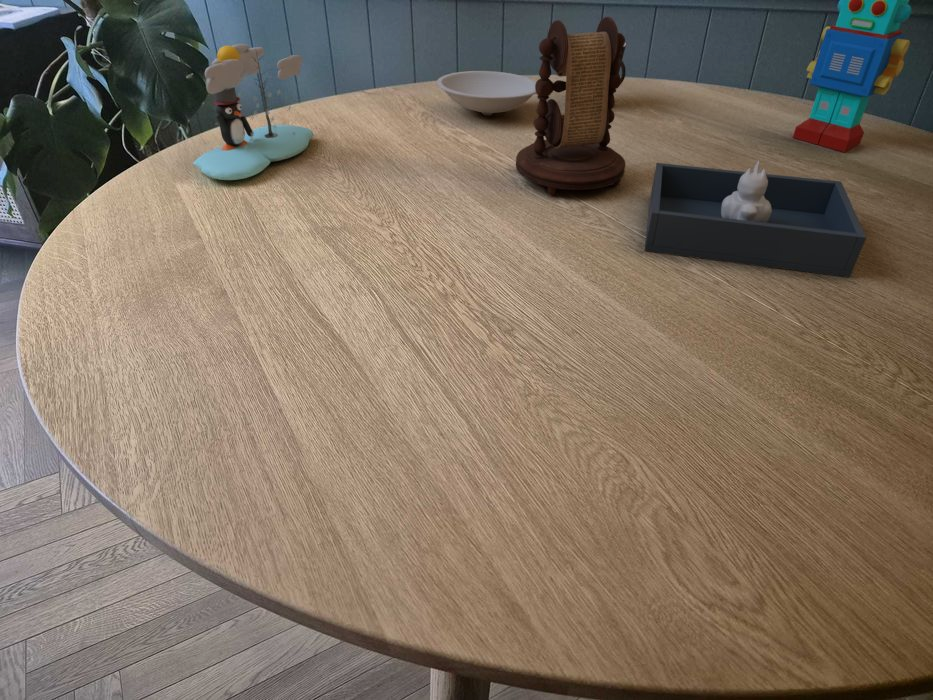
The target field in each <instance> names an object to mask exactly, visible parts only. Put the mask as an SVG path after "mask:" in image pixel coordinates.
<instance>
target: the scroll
mask: <svg viewBox="0 0 933 700" xmlns="http://www.w3.org/2000/svg"><path fill="white" fill-rule="evenodd" d="M625 43H626V38H625V36H624V35H623V33H621V32H619V29H618V27H617V24H616V22H615V20H614V19H613V17H611V16H605V17H603V18H601V20H600V21H599V22H598V25H597V27H596V32H593V31H592V32H581V33H568V32H567V28H566V26H565V24H564V22H562V21H561V20H559V19H556V20H554V21H553V22H552V23H551V25H550V27H549V29H548V32H547V37H545V38H542V40H541V41H540V43H538V44H539V45H538V51H539V52H540V54H541V56H539V60H541V61H542V62H541V64H540V67H539V70H538V76H539V79H537V80H536V84H535V91H536V95H537V96H536V98H537V99H538V103H537V106H536V109H535V112H536V114H537V116H536V117H535V119H534V120H533V127H534V129H535V130H536V131H535V132H534V136H536V138H535V140H534V142H533V143H531V144H529V145H527V146H525V147H523V148H522V149H521V150H519V152H518V153H517V154H516V157H515V169H516V171H517V173H518V174H519V175H520V176H522V178H525V179H526V180H528V181H530V182H532V183H534V184H538V185H541V186H544V187H547V192H548V195H549V196H550V197H553V196H554V195H555V194H556V191H557V189H561V190H571V191H581V190H582V191H584V190H585V191H586V190H594V189H595V190H596V189H600V188H605V187H608V186H611V185H612V186H613V187H614V188H617V187H618V186H619V184H620V183H621V179H622V178H623V177H624V175H625V169H626V160H625V159H624V157H623V156H622V155H621V154H620V153H619V152H617V151H615V150H614V149H613V148H611V147H610V146H608V145H609V144H610V142H611V135H610V129H612V128H613V127H612V125H611V123H613V121H614V120H615V112H614V110H613V109H614V107H615V104H616V103H615V101H616V100H615V93H616V92H617V90H618V89H619V88H620V86H621V85H620V83H621V75H620V73H619V74H618V73H617V72H618V70H619V68H620V69H621V67H620V61H619V55H621V54H622V52H621V51H620V49H622V48H623V46H624V44H625ZM552 70H553V71H554V72H555V74H556V76H557V77H561V78H562V77H565V80H561V79H557V80H554V82H553V81H552V80H551V79H549V78H550V77H551V75H552ZM621 84H622V83H621ZM564 91H565V97H564V98H565V101H564V102H565V103H564V114H562V112H561V108H560V106H559V104H558V102H557V101H556V100H555V99H554V98H550V95H551V94H552V93H554V92H555V93H562V92H564Z"/></svg>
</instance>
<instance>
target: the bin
mask: <svg viewBox="0 0 933 700" xmlns="http://www.w3.org/2000/svg"><path fill="white" fill-rule="evenodd" d="M745 172H746V171H742V170H741V171H740V170H731V169H721V168H711V167H703V166H692V165H684V164H683V165H681V164H673V163H662V162H656V165H655V169H654V175H653V180H652V185H651V190H650V196H649V202H648V203H649V205H648V212H647V213H648V214H647V223H646V233H645V242H644V252H648V253H649V252H650V253H656V254H657V253H658V254H664V255H673V256H679V257H680V256H681V257H688V258H695V259H703V260H712V261H719V262H726V263H735V264H743V265H751V266H759V267H765V268H766V267H768V268H773V269H781V270H790V271H796V272H797V271H798V272H805V273H812V274H821V275H829V276H837V277H842V278H843V277H844V278H850V277H851V275H852V273H853V270H854V268H855V266H856V264H857V261H858V259H859V256H860V254H861V251H862V249H863V247H864V245H865V242H866V240H867V235H866V233H865V231H864V229H863V227H862V225H861V223H860V219H859V218H858V216H857V213H856V211H855V209H854V206H853V204H852V202H851V200H850V198H849V196H848V194H847V192H846V189H845V186H844V183H843V182H842V181H840V180H830V179H819V178H809V177H801V176H791V175H779V174H770V173H766V176H767V180H768V185H767V188H766V192H765V194H764V197H765V199H766V200H768V201H769V202H770V204H771V209H772V213H771V215H770V218H769V220H768V221H767V222H766V223H763V222H755V221H746V220H737V219H729V218H722V216H721V207H722V202H723V200H724V199H725V198H726V197H727V196H730V195H732V193H733V192H735V191H738V190H737V187H738V183H739V180H740V177H741V176H742V175H743V174H744V173H745Z"/></svg>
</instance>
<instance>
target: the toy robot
mask: <svg viewBox="0 0 933 700" xmlns="http://www.w3.org/2000/svg"><path fill="white" fill-rule="evenodd" d="M909 2H910V0H839V1H838V3H837V12H839V13H838V17H837V19H836V23H835V24H834V25H831V26H829V25H827V26H826V27H825V28H823V31H822V32H821V36H820V41H821V42H822V43H821V46H820V49H819V51H818V53H817V56H816V58H815V60H812V61H811V62H809V63H808V65H807V68H806V72H808V73H807V76H806V78H807V79H810V81H809V85H811V86H815V87H818V90H817V93H816V96H815V99H814V102H813V105H812V108H811V110H810V114H809V117H808V119H806V120H804V121H803V122H801V123H799V124H798V125H796V126H795V129H794V132H793V135H792V138H793V139H794V140H795V139H796V140H799V141H803V142H806V143H810V144H812V145H817V146H820V147H823V148H827V149H831V150H834V151H837V152H842V153H845V152H847V151H849V150H851V149H853V148H855V147H856V146H858V145H860V144H861V142H862V140H863V137H864V134H865V131H864V130H863V128H862V126H861V122H862V120H863V116H864V113H865V111H866V109H867V105H868V104H869V103H868V102H869V100H870V98H871V96H873V95H875V94H878V95H882V96H885V95H886V94H887V93H888V91H889V90H890V87H891V85H892V82H893V80H894V78H895V77H898V76H899V75H900V73H901V72H902V70H903V68H904V65H905V61H904V58H905V55H906V53H907V52H908V49H909V47H910V44H911V42H910V40H909V39H904V36H905V34H904V33H903V30H901V29H900V26H901V23H904V22H906V21H907V20H908V19H909V17H910V16H911V15H912V7H911V5H910V4H909Z"/></svg>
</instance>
